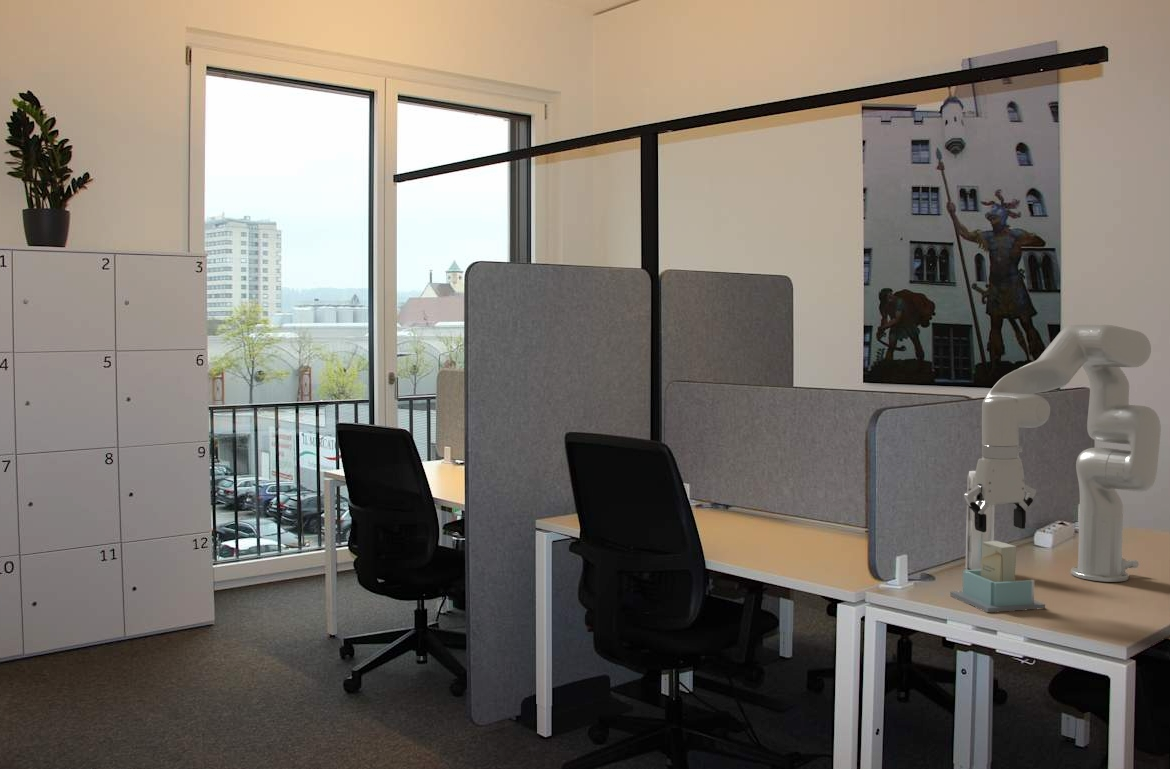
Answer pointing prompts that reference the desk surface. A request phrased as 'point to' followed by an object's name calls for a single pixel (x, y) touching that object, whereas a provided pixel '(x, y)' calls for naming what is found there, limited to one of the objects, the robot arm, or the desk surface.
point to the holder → (996, 593)
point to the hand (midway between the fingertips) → (1000, 529)
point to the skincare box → (998, 561)
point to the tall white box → (974, 536)
